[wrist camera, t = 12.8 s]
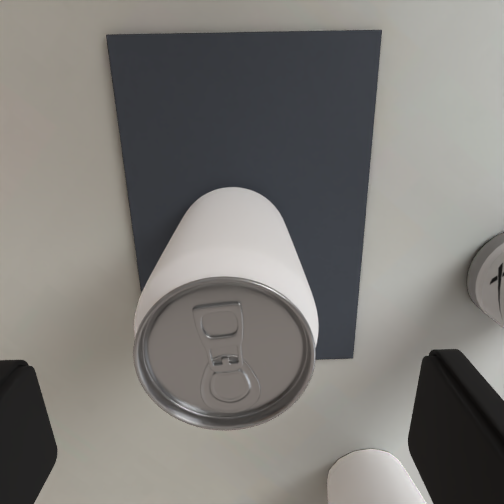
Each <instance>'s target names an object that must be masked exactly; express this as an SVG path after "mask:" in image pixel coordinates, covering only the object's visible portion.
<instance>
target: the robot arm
mask: <svg viewBox="0 0 504 504" xmlns="http://www.w3.org/2000/svg"><path fill="white" fill-rule="evenodd" d="M408 446H409V451H410V454H411V456H412V459H413V461H414V463H415V465H416V467H417V469H418V471H419V474H420V476H421V478H422V480H423V482H424V484H425V486H426V488H427V491H428V493H429V495H430V497H431V499H432V501H433V503H434V504H504V401H503V400H502V398H501V397H500V396H499V395H498V394H497V393H496V391H495V390H494V389H493V388H492V387H491V386H490V384H489V383H488V382H487V381H486V380H485V379H484V378H483V376H482V375H481V374H480V373H479V372H478V371H477V369H476V368H475V367H474V366H473V365H472V364H471V362H470V361H469V360H468V359H467V358H466V357H465V356H464V354H463V353H462V352H461V351H459V350H457V349H442V350H432V351H431V352H430V353H429V356H425V357H424V358H423V360H422V365H421V370H420V376H419V381H418V386H417V392H416V397H415V403H414V408H413V414H412V419H411V425H410V430H409V436H408ZM56 458H57V445H56V442H55V438H54V435H53V431H52V428H51V424H50V421H49V417H48V414H47V410H46V407H45V404H44V400H43V397H42V393H41V390H40V386H39V383H38V379H37V376H36V372H35V370H34V368H33V367H32V366H28V363H27V362H26V361H24V360H0V504H34V502H35V500H36V499H37V497H38V495H39V493H40V491H41V489H42V487H43V485H44V483H45V482H46V480H47V478H48V476H49V474H50V472H51V470H52V468H53V466H54V464H55V462H56Z"/></svg>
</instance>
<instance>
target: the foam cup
mask: <svg viewBox="0 0 504 504" xmlns="http://www.w3.org/2000/svg"><path fill="white" fill-rule="evenodd" d="M327 487H328V489H327V495H328V504H427V503H426V501H425V500H424V498H423V497H422V495H421V493H420V492H419V490H418V489H417V487H416V485H415V484H414V482H413V481H412V479H411V477H410V476H409V474H408V473H407V471H406V469H405V468H404V467H403V466H402V464H401V462H400V460H398V459H397V458H396V457H394V456H393V455H392V454H390V453H389V452H386V451H381V450H376V449H366V450H359V451H353V452H352V453H350V454H348V455H346V456H344V457H342V458H340V459H338V461H337V462H336V463H335V464H334V465H333V466H332V468H331V469H330V470H329V473H328V479H327Z"/></svg>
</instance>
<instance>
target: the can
mask: <svg viewBox="0 0 504 504" xmlns="http://www.w3.org/2000/svg"><path fill="white" fill-rule="evenodd" d="M318 330H319V324H318V315H317V309H316V305H315V302H314V298H313V295H312V292H311V290H310V287H309V284H308V281H307V279H306V276H305V273H304V271H303V268H302V266H301V263H300V260H299V258H298V255H297V253H296V250H295V247H294V245H293V242H292V240H291V237H290V235H289V232H288V230H287V227H286V225H285V223H284V220H283V218H282V216H281V214H280V213H279V211H278V210H277V209H276V207H275V206H274V205H273V204H272V203H271V202H270V201H269V200H268V199H267V198H265V197H264V196H262V195H261V194H259V193H257V192H254V191H252V190H249V189H245V188H239V187H226V188H220V189H216V190H213V191H211V192H209V193H207V194H205V195H203V196H202V197H200V198H199V199H198V200H196V201H195V202H194V203H193V204H192V205H191V206H190V208H189V209H188V210H187V212H186V213H185V215H184V217H183V218H182V220H181V222H180V223H179V225H178V227H177V229H176V230H175V232H174V234H173V236H172V237H171V239H170V241H169V243H168V244H167V246H166V248H165V250H164V252H163V253H162V255H161V257H160V259H159V261H158V262H157V264H156V266H155V268H154V270H153V272H152V273H151V275H150V277H149V279H148V281H147V283H146V285H145V287H144V289H143V291H142V293H141V296H140V298H139V301H138V304H137V308H136V312H135V318H134V334H135V341H134V350H133V356H134V365H135V369H136V373H137V376H138V378H139V381H140V383H141V385H142V387H143V388H144V390H145V391H146V393H147V394H148V396H149V397H150V398H151V399H152V400H153V401H154V402H155V403H156V404H157V405H158V406H159V407H160V408H161V409H163V410H164V411H165V412H167V413H168V414H170V415H171V416H173V417H175V418H176V419H178V420H180V421H183V422H185V423H187V424H190V425H193V426H197V427H201V428H205V429H212V430H238V429H245V428H250V427H254V426H257V425H260V424H263V423H265V422H267V421H270V420H272V419H274V418H275V417H277V416H279V415H280V414H282V413H283V412H285V411H286V410H287V409H289V408H290V407H291V406H292V405H293V404H294V403H295V402H296V401H297V400H298V399H299V398H300V396H301V395H302V394H303V392H304V391H305V389H306V387H307V386H308V384H309V382H310V379H311V377H312V374H313V371H314V366H315V358H316V350H315V348H316V344H317V339H318Z"/></svg>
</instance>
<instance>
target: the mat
mask: <svg viewBox="0 0 504 504" xmlns="http://www.w3.org/2000/svg"><path fill="white" fill-rule="evenodd" d="M381 34H382V30H346V31H289V32H231V33H174V34H117V35H106V38H107V45H108V52H109V60H110V67H111V74H112V82H113V89H114V96H115V104H116V111H117V118H118V126H119V133H120V140H121V148H122V155H123V162H124V170H125V177H126V184H127V191H128V199H129V206H130V213H131V221H132V228H133V235H134V243H135V250H136V257H137V265H138V272H139V279H140V287H141V293H142V291H143V289H144V287H145V285H146V283H147V281H148V279H149V277H150V275H151V273H152V272H153V270H154V268H155V266H156V264H157V262H158V261H159V259H160V257H161V255H162V253H163V252H164V250H165V248H166V246H167V244H168V243H169V241H170V239H171V237H172V236H173V234H174V232H175V230H176V229H177V227H178V225H179V223H180V222H181V220H182V218H183V217H184V215H185V213H186V212H187V210H188V209H189V208H190V206H191V205H192V204H193V203H194V202H195V201H196V200H198V199H199V198H200V197H202V196H203V195H205V194H207V193H209V192H211V191H213V190H216V189H220V188H226V187H239V188H245V189H249V190H252V191H254V192H257V193H259V194H261V195H262V196H264V197H265V198H267V199H268V200H269V201H270V202H271V203H272V204H273V205H274V206H275V207H276V209H277V210H278V211H279V213H280V214H281V216H282V218H283V220H284V223H285V225H286V227H287V230H288V232H289V235H290V237H291V240H292V242H293V245H294V247H295V250H296V253H297V255H298V258H299V260H300V263H301V266H302V268H303V271H304V273H305V276H306V279H307V281H308V284H309V287H310V290H311V292H312V295H313V298H314V302H315V305H316V309H317V315H318V324H319V330H318V339H317V344H316V348H315V350H316V358H315V360H317V359H348V358H353V352H354V340H355V329H356V318H357V306H358V295H359V284H360V272H361V261H362V250H363V238H364V227H365V216H366V204H367V193H368V182H369V170H370V159H371V148H372V136H373V125H374V114H375V102H376V91H377V80H378V68H379V57H380V46H381Z"/></svg>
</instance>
